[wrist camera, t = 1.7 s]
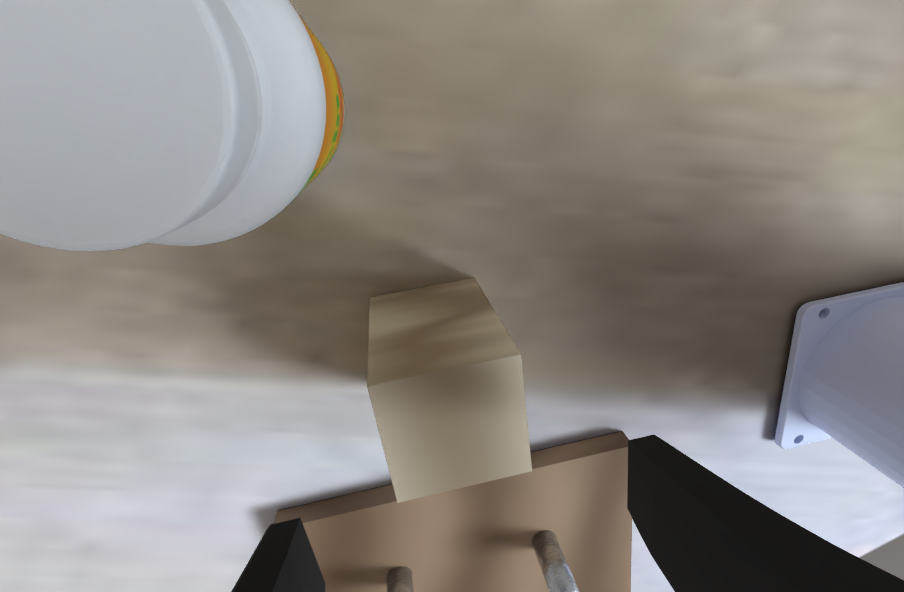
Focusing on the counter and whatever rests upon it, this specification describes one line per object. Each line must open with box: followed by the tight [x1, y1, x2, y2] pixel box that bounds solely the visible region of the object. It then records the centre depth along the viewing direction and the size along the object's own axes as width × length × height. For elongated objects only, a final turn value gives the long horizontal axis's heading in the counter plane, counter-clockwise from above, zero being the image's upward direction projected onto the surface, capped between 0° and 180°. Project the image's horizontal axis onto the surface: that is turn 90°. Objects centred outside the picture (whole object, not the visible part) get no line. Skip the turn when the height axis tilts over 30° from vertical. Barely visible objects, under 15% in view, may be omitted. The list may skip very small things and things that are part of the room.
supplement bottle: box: [0, 0, 345, 251], centre depth 9 cm, size 5×5×10 cm
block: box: [367, 277, 532, 503], centre depth 15 cm, size 4×4×6 cm
